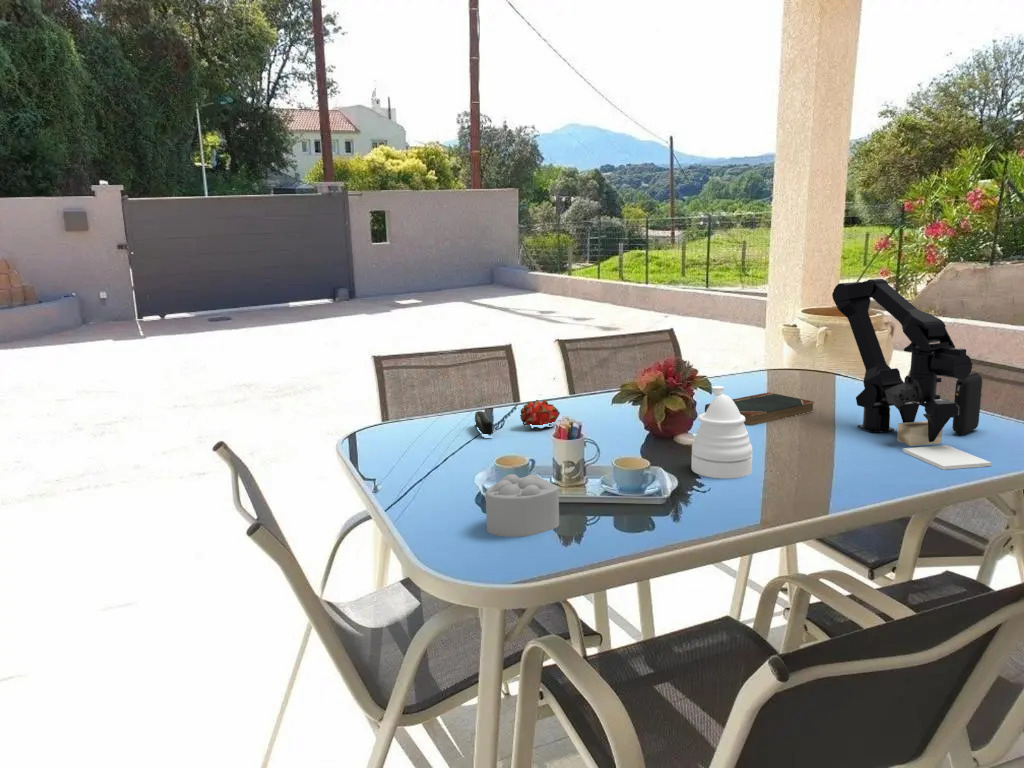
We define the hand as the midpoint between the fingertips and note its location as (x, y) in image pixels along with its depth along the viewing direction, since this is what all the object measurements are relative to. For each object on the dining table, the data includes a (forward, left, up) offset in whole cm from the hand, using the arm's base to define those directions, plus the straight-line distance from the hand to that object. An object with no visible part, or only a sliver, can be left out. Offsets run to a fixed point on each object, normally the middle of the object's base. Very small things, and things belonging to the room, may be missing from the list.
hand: (919, 437), depth 190 cm
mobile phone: (-36, -101, -2) cm, 107 cm away
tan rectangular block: (0, 0, -1) cm, 1 cm away
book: (-37, -23, -2) cm, 44 cm away
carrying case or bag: (-4, +15, -1) cm, 16 cm away
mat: (+14, -3, -1) cm, 14 cm away
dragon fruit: (-37, -85, -2) cm, 93 cm away
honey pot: (+9, -53, -2) cm, 54 cm away
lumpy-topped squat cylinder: (+32, -101, -2) cm, 106 cm away
